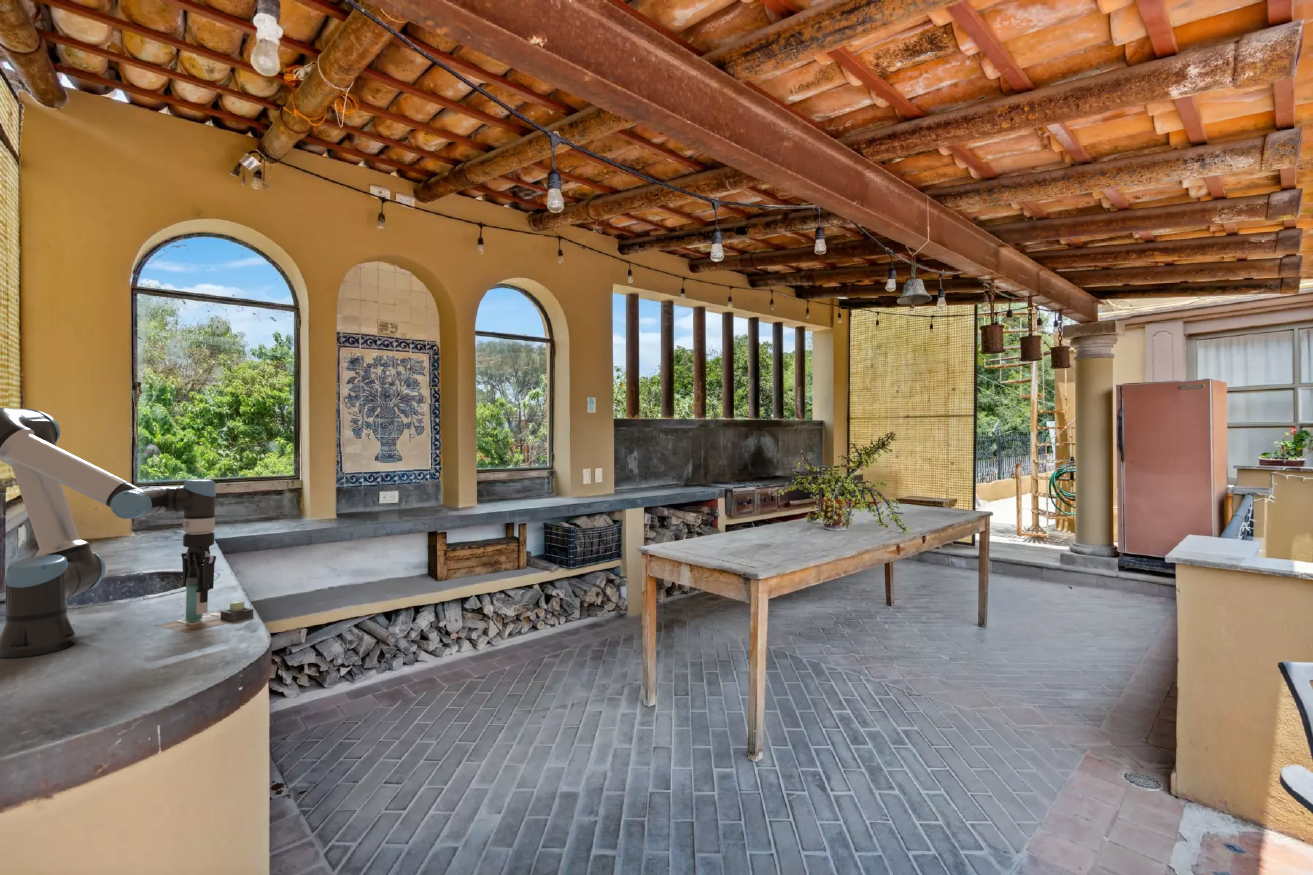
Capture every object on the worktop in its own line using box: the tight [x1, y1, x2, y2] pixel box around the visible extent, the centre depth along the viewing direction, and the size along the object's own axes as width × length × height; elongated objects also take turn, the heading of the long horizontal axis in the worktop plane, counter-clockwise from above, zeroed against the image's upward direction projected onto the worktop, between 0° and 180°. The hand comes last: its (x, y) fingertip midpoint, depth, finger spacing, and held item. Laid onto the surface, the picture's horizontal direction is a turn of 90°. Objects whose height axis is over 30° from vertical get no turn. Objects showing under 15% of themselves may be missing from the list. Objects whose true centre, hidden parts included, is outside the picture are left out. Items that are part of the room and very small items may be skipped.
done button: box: [229, 600, 245, 613], centre depth 194 cm, size 4×4×3 cm
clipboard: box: [155, 606, 254, 634], centre depth 191 cm, size 16×18×4 cm
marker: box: [185, 577, 203, 621], centre depth 190 cm, size 4×4×12 cm
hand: (197, 612), depth 190 cm, fingers closed on marker, 4 cm apart
